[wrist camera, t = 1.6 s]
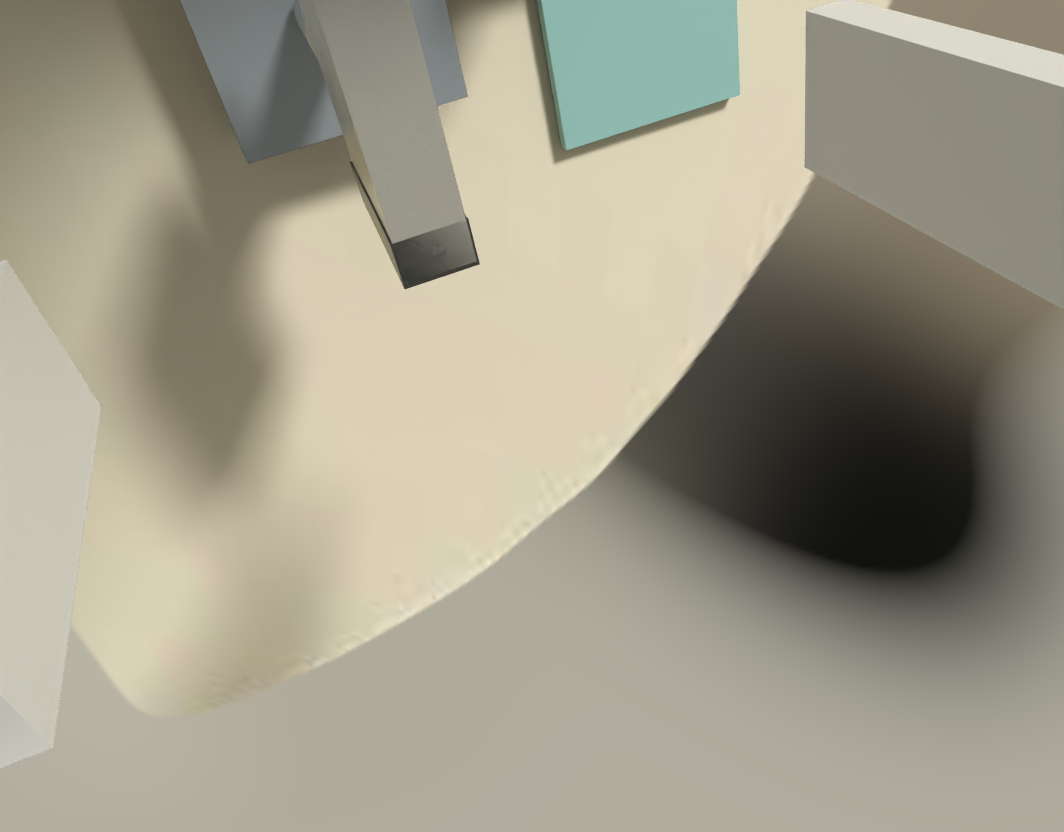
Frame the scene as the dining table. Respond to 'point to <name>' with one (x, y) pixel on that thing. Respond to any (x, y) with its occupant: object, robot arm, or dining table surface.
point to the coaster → (636, 61)
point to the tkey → (392, 132)
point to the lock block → (295, 70)
